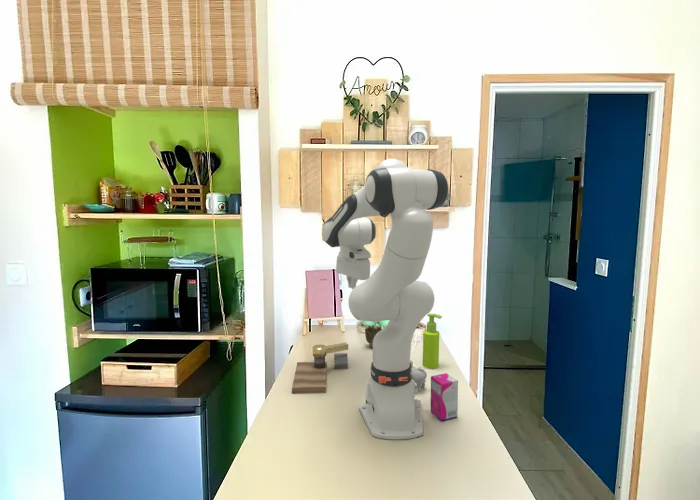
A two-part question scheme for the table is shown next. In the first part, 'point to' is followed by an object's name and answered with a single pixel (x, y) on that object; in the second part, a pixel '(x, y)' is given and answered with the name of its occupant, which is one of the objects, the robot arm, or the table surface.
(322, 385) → the lock base
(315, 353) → the latch lever
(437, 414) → the supplement box
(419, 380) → the pig figurine
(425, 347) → the soap dispenser
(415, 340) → the fork
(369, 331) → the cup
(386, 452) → the table surface
